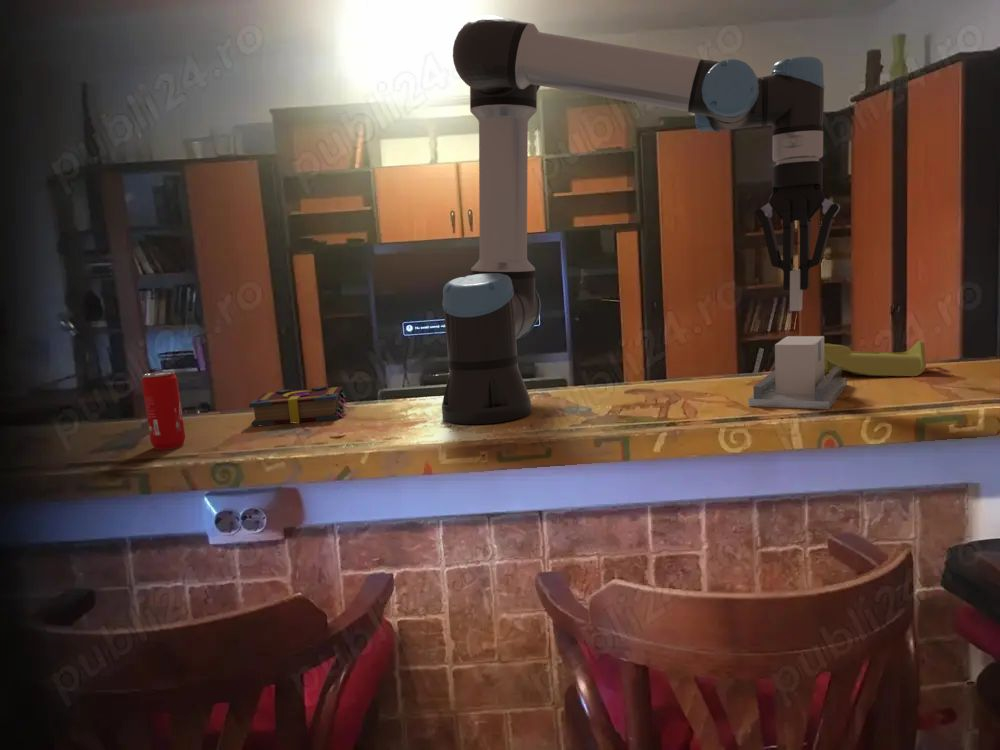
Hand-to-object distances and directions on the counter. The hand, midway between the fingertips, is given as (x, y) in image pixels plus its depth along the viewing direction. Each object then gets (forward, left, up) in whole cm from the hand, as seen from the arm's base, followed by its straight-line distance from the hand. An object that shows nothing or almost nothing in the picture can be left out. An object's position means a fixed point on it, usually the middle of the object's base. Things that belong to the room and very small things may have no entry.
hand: (796, 310), depth 129 cm
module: (+1, 0, -13) cm, 13 cm away
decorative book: (-80, -33, -15) cm, 88 cm away
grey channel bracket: (0, 0, -14) cm, 14 cm away
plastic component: (+7, +23, -15) cm, 28 cm away
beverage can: (-87, -57, -14) cm, 105 cm away
